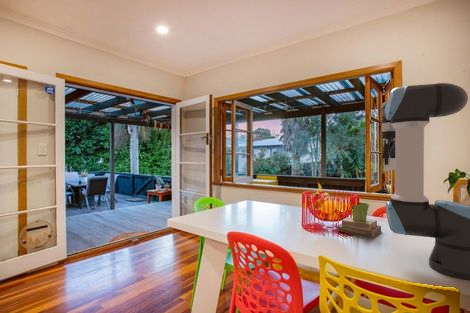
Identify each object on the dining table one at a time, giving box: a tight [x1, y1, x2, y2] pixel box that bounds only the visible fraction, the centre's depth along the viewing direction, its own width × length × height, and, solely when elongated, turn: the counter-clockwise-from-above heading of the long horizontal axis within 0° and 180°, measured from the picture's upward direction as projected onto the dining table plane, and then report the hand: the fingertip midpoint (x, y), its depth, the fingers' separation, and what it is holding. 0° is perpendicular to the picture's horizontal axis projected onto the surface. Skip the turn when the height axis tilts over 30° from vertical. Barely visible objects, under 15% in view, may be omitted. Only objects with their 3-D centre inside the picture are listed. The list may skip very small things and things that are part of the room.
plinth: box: [337, 216, 382, 240], centre depth 132 cm, size 16×16×6 cm
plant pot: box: [351, 201, 370, 222], centre depth 132 cm, size 9×9×9 cm
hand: (389, 170), depth 137 cm, fingers open, 13 cm apart
